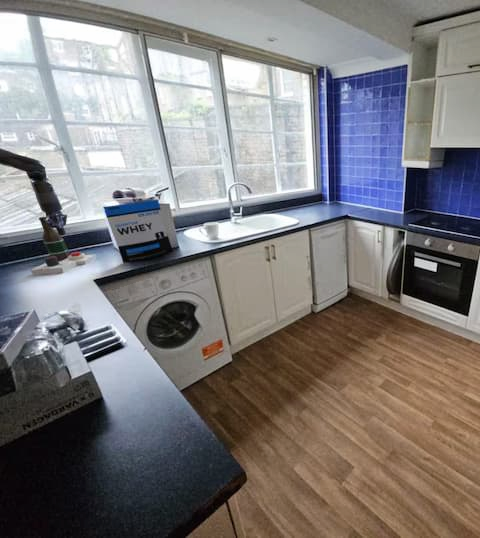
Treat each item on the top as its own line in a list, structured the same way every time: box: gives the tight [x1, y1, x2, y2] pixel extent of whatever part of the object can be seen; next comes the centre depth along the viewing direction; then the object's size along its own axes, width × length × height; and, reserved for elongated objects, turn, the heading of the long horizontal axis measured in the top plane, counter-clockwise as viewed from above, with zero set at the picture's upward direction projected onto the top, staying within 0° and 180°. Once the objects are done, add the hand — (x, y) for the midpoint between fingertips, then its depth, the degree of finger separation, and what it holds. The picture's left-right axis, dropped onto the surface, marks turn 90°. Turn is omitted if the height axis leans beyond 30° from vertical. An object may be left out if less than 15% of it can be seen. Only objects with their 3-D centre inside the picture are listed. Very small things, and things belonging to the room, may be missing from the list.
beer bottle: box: [38, 216, 71, 262], centre depth 160 cm, size 8×8×24 cm
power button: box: [70, 251, 81, 257], centre depth 158 cm, size 4×4×2 cm
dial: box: [43, 256, 60, 267], centre depth 148 cm, size 4×4×4 cm
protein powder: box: [102, 199, 173, 264], centre depth 160 cm, size 10×24×30 cm, turn 140°
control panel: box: [30, 260, 78, 276], centre depth 149 cm, size 13×10×3 cm
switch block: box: [60, 252, 98, 266], centre depth 159 cm, size 12×10×4 cm
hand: (62, 234), depth 153 cm, fingers closed
